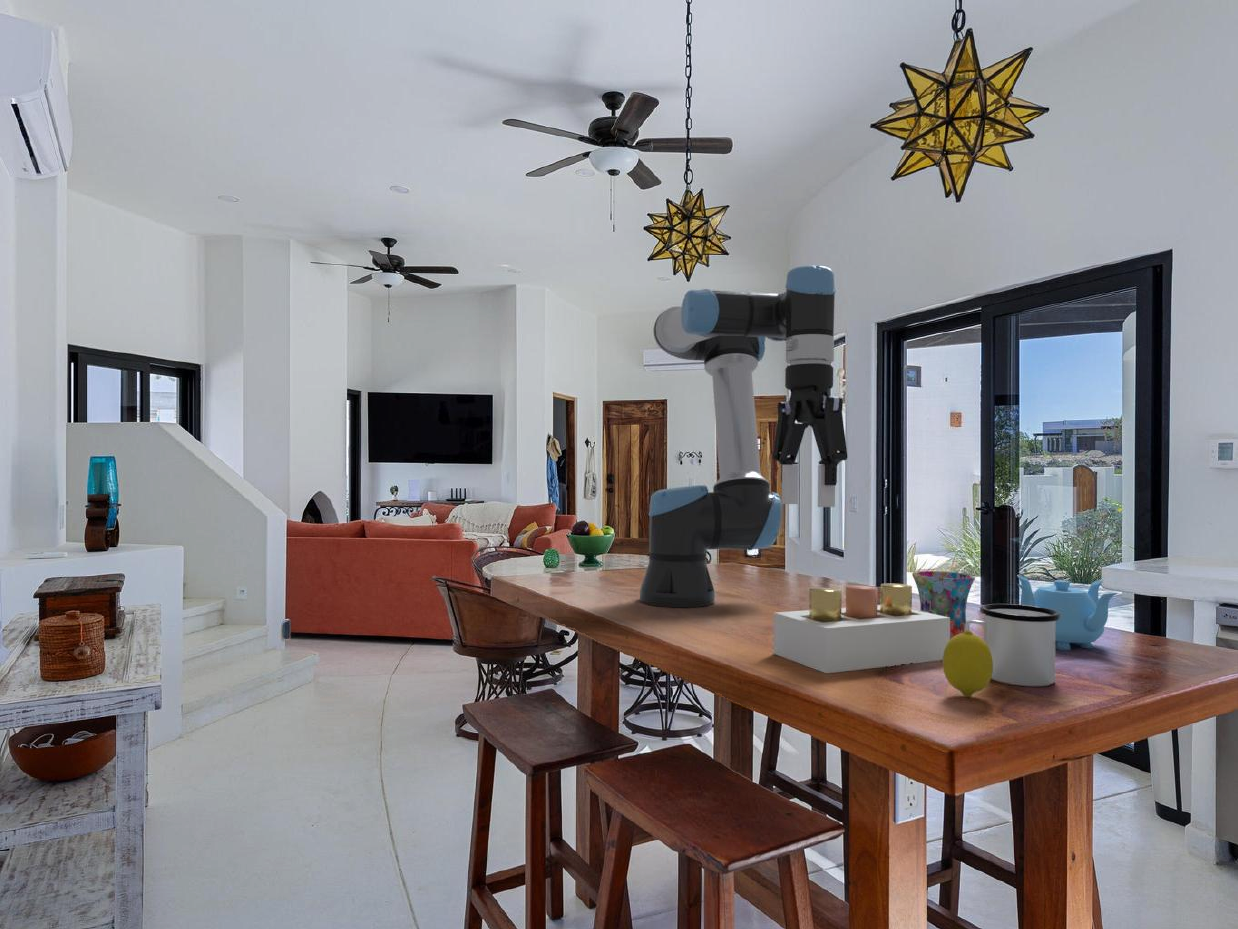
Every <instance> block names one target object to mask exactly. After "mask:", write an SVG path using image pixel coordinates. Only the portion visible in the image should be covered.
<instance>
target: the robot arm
mask: <svg viewBox="0 0 1238 929" xmlns="http://www.w3.org/2000/svg"><path fill="white" fill-rule="evenodd" d="M785 289H786V290H785V292H783V293H777V292H776V293H774V292H756V291H755V292H754V291H753V292H750V291H744V292H742V291H727V290H712V289H707V288H703V289H690V290H688V291H687V292H686V293H685V294H684V295H683V296H684V298H683V300H682V304H681V306H672V307H670V308H669V307H668V308H667V309H666V310H663V311H662V312H661V313H660V314H659V315H658V316H657V318H656V319H655V322H654V323H653V324H654V325H653V338H654V340H655V342H656V344H657V345H658V347H659V348H660V349H661V351H663V352H665V353H666V354H668V355H670V356H673V357H675V358H677V359H682V360H686V361H687V360H688V361H702V362H703V365H704V366H703V367H704V371H705V372H706V373H707V374H708V375H710V377H711V378H712V389H713V402H714V403H713V405H714V415H715V416H714V418H715V429H716V430H715V431H716V443H717V444H716V446H717V456H718V458H717V460H718V472H719V473H718V474H719V479H718V480H717V481H716V482H715V483H714V484H713V487H712V489H713V492H710V491H709V488H708V486H706V485H689V486H679V487H671V488H665V489H658V490H657V491H654V492H653V493H652V495H651V496H650V501H649V502H650V503H649V510H648V511H649V512H648V517H649V533H648V534H649V535H648V536H649V539H648V540H649V543H648V545H649V548H648V553H649V554H648V564H647V566H646V571H645V574H644V577H643V580H642V582H641V586H640V590H639V601H640V602H641V603H644V604H648V605H652V606H656V607H657V606H658V607H668V608H671V607H672V608H697V607H705V606H710V605H713V604H715V601H716V600H715V599H716V597H715V596H716V595H715V587H714V585H713V582H712V578H711V574H710V572H709V568H708V565H707V552H708V550H748V551H752V550H765V549H768V548H770V547H771V546H773V545H774V543H775V542H776V541H777V539H778V536H779V533H780V530H781V525H782V520H783V519H782V518H783V505H798V504H799V461H798V460H797V457H798V453H799V450H800V447H801V443H802V441H803V438H804V434H805V430H806V429H807V428H809V427H811V429H812V431H813V435H814V439H815V443H816V446H817V449H818V452H819V457H820V460H819V461H818V464H817V508H835V507H836V485H837V482H838V477H837V475H838V465H839V463H841V462H842V461H846V460H848V451H847V450H848V448H847V442H846V440H847V439H846V432H845V428H844V420H843V419H844V417H843V406H844V405H843V404H844V399H843V397H842V396H841V397H840V396H830V394H829V390H831V389H833V387H834V367H833V365H831V364H832V363H834V361H835V338H834V336H835V335H834V334H835V333H834V331H835V329H834V328H835V298H836V295H835V294H836V289H835V274H834V271H833V270H832V269H831V268H830V267H828V266H824V265H802V266H797V267H794V268H792V269H790V270H789V271H788V272H787V276H786V282H785ZM766 338H767V339H769V340H771V341H773V342H785V344H786V345H785V351H786V352H785V362H786V363H787V364H788V365H787V366H786V368H785V370H784V371H785V372H784V373H785V374H784V375H785V376H784V377H785V378H784V379H785V380H784V381H785V382H784V383H785V384H784V386H785V388H786V389H787V390H789V391H790V397H789V400H788V401H785V402H784V401H779V402H778V403H777V416H778V417H777V422H776V430H775V437H774V445H773V452H772V460H773V461H777V462H778V464H779V465H780V475H781V476H780V481H781V496H780V495H779V493H776V492H774V491H771V488H770V487H771V486H770V481H769V480H768V479H766V478H765V477H764V476H762V472H761V461H760V450H759V439H758V438H759V436H758V430H757V429H758V428H757V427H758V426H757V418H756V417H757V416H756V415H757V414H756V405H755V396H754V382H753V374H752V373H753V372H754V371H755V370H756V369H757V368H758V366H759V362H760V361H761V360H762V359H763V357H764V355H765V350H766V344H765V342H766Z"/></svg>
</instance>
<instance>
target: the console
mask: <svg viewBox="0 0 1238 929" xmlns="http://www.w3.org/2000/svg"><path fill="white" fill-rule="evenodd" d="M949 640H950V618H949V617H945V616H940V615H936V614H932V613H927V612H923V611H920V610H917V609H914V608H912V615H909V616H897V617H894V616H890V615H886V614H882V613H880V604H877V618H872V619H860V620H859V619H855V618H852V617H848V616H846V606H845V607H841V621H836V622H824V623H822V622H818V621H815V620H811V619H809V609H806V610H793V611H792V610H791V611H780V612H779V611H778V612H773V654H774V655H777V656H779V657H782V658H784V659H787V660H789V661H793V662H794V663H798V664H801V665H803V666H805V667H809V668H812V669H813V670H817V671H819V672H822V673H825V674H833V673H842V672H843V673H844V672H850V671H851V672H852V671H859V670H868V669H877V668H886V666H887V667H892V666H893V667H895V665H896V666H902V665H901V664H905V665H910V663H913V664H920V663H921V664H923V663H929V662H930V663H931V662H938V661H943V655H944V650H945V647H946V645H947V643H948V642H949Z"/></svg>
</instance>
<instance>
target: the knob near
mask: <svg viewBox="0 0 1238 929" xmlns="http://www.w3.org/2000/svg"><path fill="white" fill-rule="evenodd" d="M842 595H843V592H842V590H841V589H839V588H833V587H811V588H809V609H808V610H809V619H811V620H815V621H818V622H822V623H824V622H836V621H841V608H842Z"/></svg>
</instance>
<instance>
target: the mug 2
mask: <svg viewBox="0 0 1238 929" xmlns="http://www.w3.org/2000/svg"><path fill="white" fill-rule="evenodd" d="M979 612H980V613H981V614H982V615H984V620H980V619H979V620H977V619H970V620H966V623H965V631H966V630H968V631H970V625H971V624H976V625H980V626H984V627H983V628H984V631H983V633H984V634H983V636H984V637H983V638H984V639H983V640H984V641H985V642H986V644H987V645H988V647H989V649H990V652H991V655H992V660H993V673H992V677H991V680H993V681H994V682H998V683H1002V684H1005V685H1011V686H1018V687H1029V688H1031V687H1034V688H1037V687H1038V688H1039V687H1046V686H1048V687H1049V686H1050V685H1052V684H1054V683H1055V682H1056V641H1055V632H1056V621H1057V620H1059V619H1060V618H1061V616H1060V613H1059V612H1057V611H1055V610H1051V609H1047V608H1042V607H1036V606H1028V605H1021V604H1013V603H992V604H991V603H989V604H983V605H981V606H980V608H979Z"/></svg>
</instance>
